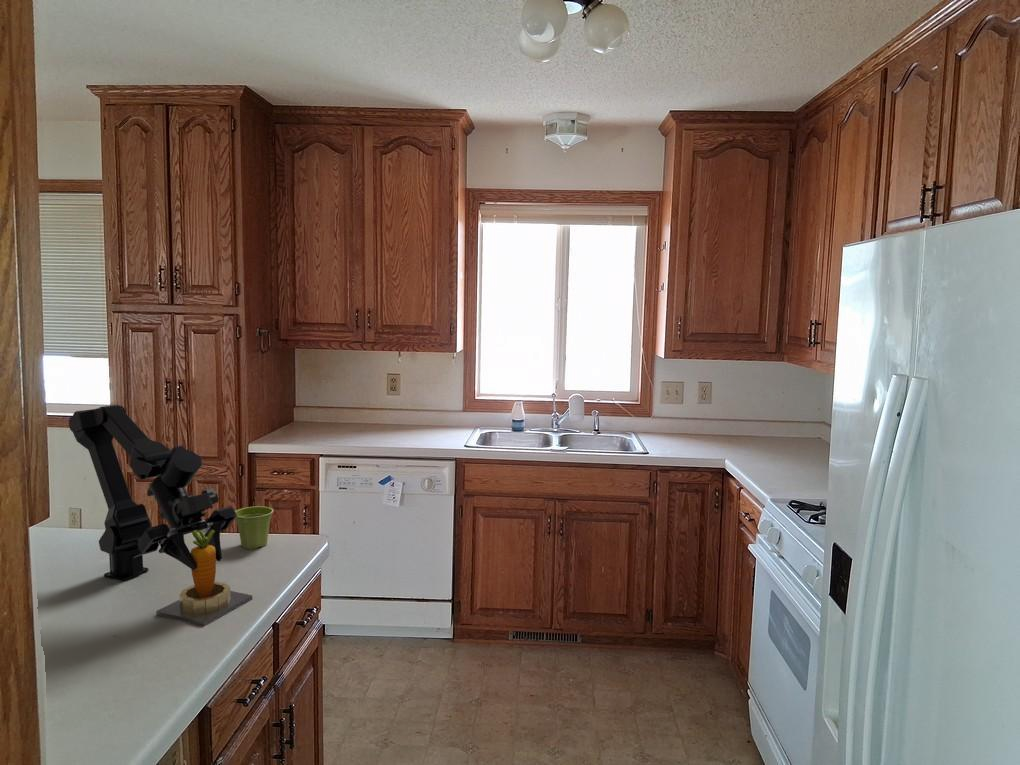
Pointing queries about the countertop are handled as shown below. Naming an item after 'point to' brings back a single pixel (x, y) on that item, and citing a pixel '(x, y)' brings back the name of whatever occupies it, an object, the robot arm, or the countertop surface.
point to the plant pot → (253, 526)
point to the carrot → (204, 564)
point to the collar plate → (203, 616)
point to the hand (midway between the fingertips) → (207, 564)
